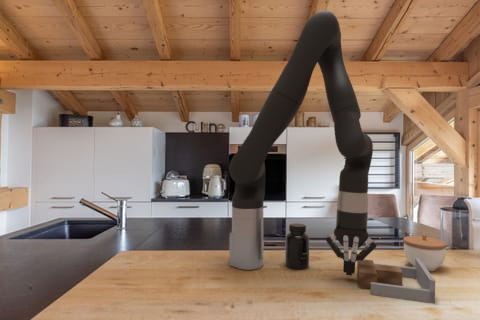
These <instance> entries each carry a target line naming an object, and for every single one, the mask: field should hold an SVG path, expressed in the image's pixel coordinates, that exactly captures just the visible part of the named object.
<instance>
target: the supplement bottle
mask: <svg viewBox="0 0 480 320" xmlns="http://www.w3.org/2000/svg"><path fill="white" fill-rule="evenodd" d="M288 227H289V229H288V233H287V234H286V235H285V252H284V253H285V258H284V259H285V263H284V264H285V265H286V268H287V267H288V268H290V269H293V270H305V269H307V268H308V267H309V266H310V236H309V235H308V234H307V226H306V224H304V223H303V224H302V223H289V226H288Z"/></svg>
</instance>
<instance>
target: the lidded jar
mask: <svg viewBox="0 0 480 320" xmlns="http://www.w3.org/2000/svg"><path fill="white" fill-rule="evenodd" d="M402 241H403V253H404V255H405V258H406V260H407V261H408V262H409V263H410V265H411V267H414V268H415V258H417V259H420V260H421V261H422V263H423V264H424V266H425V267H426V268H427V270H428V271H429V272H433V271H437V269H438V268H440V267H441V266H442V265H443V264H444V262H445V259H446V253H447V243H446V242H445V241H443V240H442V239H440V238H434V237H429V236H427V234H422V235H420V236H419V235H408V236H404V237H403V239H402Z"/></svg>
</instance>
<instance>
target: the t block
mask: <svg viewBox="0 0 480 320" xmlns="http://www.w3.org/2000/svg"><path fill="white" fill-rule="evenodd" d="M356 263H357V264H356V275H357V283H358V289H363V290H369V289H370V291H371V282H374V283H382V284H390V285H398V286H403V277H402V271H401V269H400V267H397V266H398V265H395V266H387V265H388V264H386V265H378V264H379V263H377V264H374V263H375V261H374V260H373V259H366V258H364V259H363V260H362V261H360V260H358V261H356Z"/></svg>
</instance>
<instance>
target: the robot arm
mask: <svg viewBox="0 0 480 320" xmlns="http://www.w3.org/2000/svg"><path fill="white" fill-rule="evenodd" d="M341 39H342V32H341V27H340V24H339V20H338V19H337V16H336V15H335V14H334V13H333V12H331V11H328V10H321V11H318V12H316V13H314V14H313V15H311V17H310V18H308V19H307V21H306V22H305V24H304V26H303V29H302V30H301V32H300V35H299V38H298V40H297V42H296V44H295V47H294V49H293V51H292V54H291V55H290V57H289V59H288V60H287V63H286V64H285V66H284V68H283V70H282V71H281V73H280V75H279V77H278V79H277V81H276V82H275V84H274V86H273V87H272V88H271V90H270V92H269V94H268V96H267V98H266V100H265V102H264V103H263V106H262V108H261V109H260V112H259V113H258V115H257V117H256V119H255V121H254V123H253V126H252V128H251V130H250V132H249V134H247V137H246V138H245V140H244V141H243V143H241V145H240V147H239V148H238V150H237V151H236V152H235V154H234V155H233V157H232V159H231V160H230V163H229V166H228V167H229V168H228V170H229V175H230V177H231V179H232V180H233V181H234V182H235V185H234V186H235V187H234V192H233V195H232V198H231V232H229V266H230V267H234V268H235V269H239V270H243V271H247V270H248V271H251V270H257V269H260V268H262V267H263V265H264V202H265V201H264V199H265V196H266V195H265V194H266V164H265V160H266V158H267V156H268V154H269V152H270V150H271V149H272V147H273V145H274V144H275V142H276V141H277V140H278V139H279V138H280V136H282V134H283V133H284V131H286V130H287V128H288V126H290V124H291V123H292V121H293V120H294V118H295V117H296V114H298V111H299V109H300V108H301V106H302V104H303V102H304V100H305V98H306V95H307V92H308V88H309V86H310V82H311V79H312V75H313V73H314V70H315V68H316V66H317V64H318V66H319V68H320V72H321V74H322V78H323V82H324V83H323V84H324V89H325V94H326V99H327V102H328V107H329V109H330V113H331V117H332V120H333V124H334V125H333V127H334V128H333V129H334V137H335V144H336V147H337V149H338V152H339V153H340V155H342V156H343V157H344V158H345V159H344V167H343V169H341V171H340V173H339V181H338V184H339V186H338V194H337V202H336V222H335V223H336V224H335V228H334V230H333V233H331V234H330V235H329V234H327V235H326V237H325V241H326V242H327V244H328V246H329V247H330V248H331V250H332V251H333V252H334V254H335V255H336V257H337V258H338V259H339V258H340V259H342V260H343V271H342V272H343V273H345V276H351V277H352V276H353V275H354V274H355V272H356V263H357V261H358V260H360V261H362V260H363V259H366V257H368V256H369V255H370V254H371V253H372V252H373V251H374V250H375V249H376V248H377V247H378V246H377V242H376V241H375V240H374V239H371V237H370V235H369V232H368V214H369V213H368V212H369V196H368V195H369V193H368V192H369V171H370V168H371V164H372V160H373V159H372V158H373V153H374V152H373V151H374V145H373V140H372V139H371V137H370V136H369V135H368V134H367V133H364V132H363V130H362V126H361V125H362V124H361V121H360V119H361V117H362V115H361V114H362V113H361V110H360V105H359V102H358V98H357V95H356V92H355V89H354V87H353V85H352V82H351V79H350V77H349V75H348V73H347V69H346V66H345V63H344V62H345V61H344V57H343V50H342V40H341ZM336 239H337V241H338V243H339V244H340V245H341V246H342V247H343V251H342V250H341V249H340V247H339V246H338V245H337V243H336ZM363 244H365V246H364V248H362V250H360V251H359V253H358V249H360V248H361V247H362V246H363ZM349 248H350V249H351V252H349V251H350V250H349ZM349 253H350V254H349ZM349 255H350V256H349Z"/></svg>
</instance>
